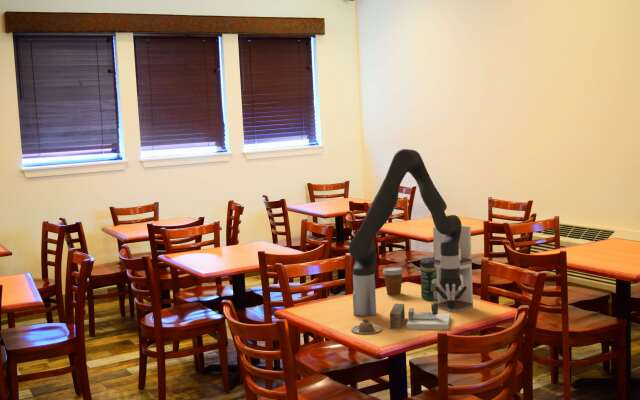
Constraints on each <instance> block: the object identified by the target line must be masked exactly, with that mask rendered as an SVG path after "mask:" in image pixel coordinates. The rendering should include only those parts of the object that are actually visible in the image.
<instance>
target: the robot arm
mask: <svg viewBox="0 0 640 400" xmlns="http://www.w3.org/2000/svg"><path fill="white" fill-rule="evenodd" d="M407 173H409V174H410V175H411V176H412V178H413V179H414V180H415V182H416V184H417V186H418V189H419V193H420V197H421V199H422V200H423V203H424V205H425V206H426V208H427V209H428V211H429V212H430V216H431V218H432V220H433V224H434V227H436V229H437V230H438V232H440V233H441V234H443V235H446V237H445V239H444V240H443V241H442V242H441V260H440V265H441V281H440V284H438V285H436V286H435V289H436V290H437V292H438V293H439V294H440V295H441V296H442V298H443V299H447V301H448V308H450V310H451V309H452V310H453V308H455V300H456V299H459V298H460V296H461V295H462V294H463V293H464V291H465V290H466V289H467V286H466V285H464V284H462V281H461V279H460V259H459V246H458V244H459V240H460V235H461V229H462V226H463V225H462V221H461V219H460V217H458V215H455V214H451V215H446V212H445V211H447V208H448V206H447V204H446V203H447V202H446V201H445V200H444V199H443V197H442V195H441V193H439V191H438V189H437V187H436V186H435V184H434V182H433V180H432V178H431V176H430V174H429V171H428V170H427V168H426V165H425V162H424V160H423V158H422V156H421V154H420V153H419V152H418V151H417V150H414V149H409V148H402V149H399V150H398V151H396V153H395V154H394V155H393V157H392V160H391V163H390V165H389V168H388V170H387V173H386V175H385V178H384V179H383V181H382V183H381V185H380V187H379V189H378V191H377V193H376V195H375V196H374V199H373V201H372V202H371V204H370V207H369V208H368V211H367V213H366V215H365V217H364V220H363V222H362V223H361V225H360V227H359V229H358V230H357V232H356V234H355V235H354V236H353V238H352V240H351V241H350V243H349V246H348V252H349V255H350V256H351V258H352V259H355V260H354V265H353V267H352V283H353V284H352V286H353V287H352V288H353V292H352V303H353V304H352V308H353V309H352V310H353V315H354V316H361V317H366V316H367V317H368V316H373V315H376V314H377V301H376V300H377V298H376V278H375V275H376V273H375V269H376V264H377V261H376V259H377V257H376V253H377V251H376V243H375V241H374V240H375V237H376V236H377V234H378V232H379V231H380V230H381V229H382V228H383V226H384V225H385V223H386V222H388V221H389V219H390V217H391V216H392V213H393V212H394V210H395V208H396V206H397V204H398V199H399V193H400V192H399V191H400V186H401V184H402V182H403V179H404V178H405V177H406V175H407ZM441 286H442V287H443V289H444V290H445V291H446V292H447V295H445V293H444V292H443V291H442V290H441ZM460 286H461V288H460V289H461V290H460V292H459V293H458V294H457V295H455V291H457V290H458V288H459V287H460ZM450 291H452V299H451V295H450Z"/></svg>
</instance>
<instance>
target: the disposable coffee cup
mask: <svg viewBox="0 0 640 400" xmlns="http://www.w3.org/2000/svg"><path fill="white" fill-rule="evenodd" d="M382 273H383V275H384V278H383V279H384V282H385V290H386V295H387V296H393V297H394V296H399V295H401V293H402V284H403V283H402V279H403V273H404V270H403V268H402V267H399V266H388V267H385V268H383V270H382Z"/></svg>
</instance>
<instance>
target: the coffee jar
mask: <svg viewBox="0 0 640 400" xmlns="http://www.w3.org/2000/svg"><path fill="white" fill-rule="evenodd" d="M419 263H420V264H419V266H420V267H419V268H420V279H421V280H420V283H421V284H420V290H421V294H420V295H421V298H422V299H424V300H426V301H433V302H436V301H438V294H437V290H436V289H435V286H436V285H437V268H436V267H435V264H434V258H432V257H431V256H430V257H429V256H428V257H424V258H421V260H420V261H419Z"/></svg>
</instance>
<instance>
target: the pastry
mask: <svg viewBox="0 0 640 400" xmlns="http://www.w3.org/2000/svg"><path fill="white" fill-rule="evenodd" d="M382 329H383V327H381V326H380V325H378V324H373V323H372V321H370V319H366V318H365V319H362V321H361V322H359V325H354V326H352V328H351V332H353V333H355V334H358V335H369V334H376V333H379V332H381V331H382Z"/></svg>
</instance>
